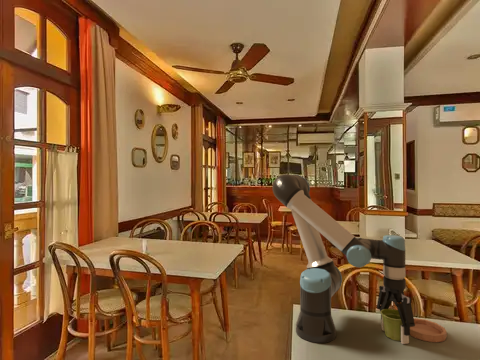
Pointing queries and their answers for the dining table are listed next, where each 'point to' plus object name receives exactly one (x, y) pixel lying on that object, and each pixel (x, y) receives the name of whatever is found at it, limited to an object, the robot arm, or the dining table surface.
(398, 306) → the robot arm
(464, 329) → the dining table surface
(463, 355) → the dining table surface
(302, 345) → the dining table surface
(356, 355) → the dining table surface
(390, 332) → the plant pot
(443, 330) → the terracotta plant saucer
